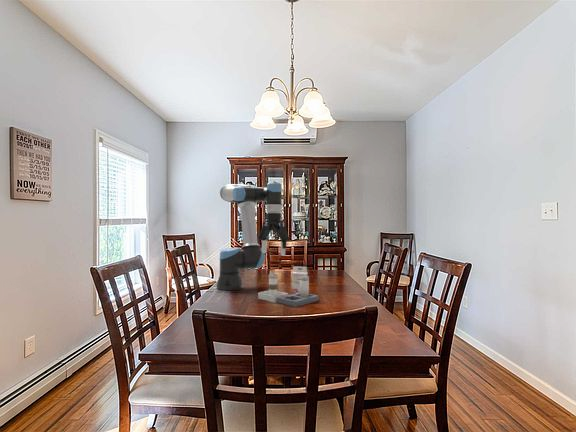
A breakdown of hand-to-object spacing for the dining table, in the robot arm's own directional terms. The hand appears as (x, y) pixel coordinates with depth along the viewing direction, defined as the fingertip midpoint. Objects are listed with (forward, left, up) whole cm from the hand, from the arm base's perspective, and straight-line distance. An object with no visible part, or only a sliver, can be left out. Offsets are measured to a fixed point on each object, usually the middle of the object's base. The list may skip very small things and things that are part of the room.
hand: (273, 253), depth 187 cm
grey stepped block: (+1, +20, -24) cm, 31 cm away
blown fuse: (0, 0, -23) cm, 23 cm away
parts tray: (0, 0, -23) cm, 23 cm away
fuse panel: (+13, +5, -23) cm, 27 cm away
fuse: (+13, +9, -23) cm, 28 cm away
